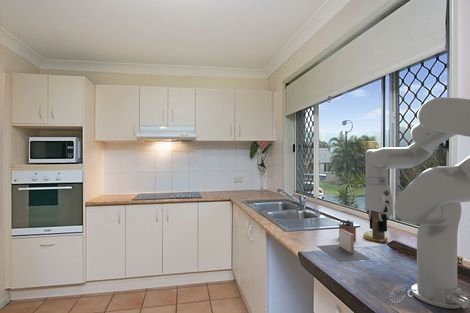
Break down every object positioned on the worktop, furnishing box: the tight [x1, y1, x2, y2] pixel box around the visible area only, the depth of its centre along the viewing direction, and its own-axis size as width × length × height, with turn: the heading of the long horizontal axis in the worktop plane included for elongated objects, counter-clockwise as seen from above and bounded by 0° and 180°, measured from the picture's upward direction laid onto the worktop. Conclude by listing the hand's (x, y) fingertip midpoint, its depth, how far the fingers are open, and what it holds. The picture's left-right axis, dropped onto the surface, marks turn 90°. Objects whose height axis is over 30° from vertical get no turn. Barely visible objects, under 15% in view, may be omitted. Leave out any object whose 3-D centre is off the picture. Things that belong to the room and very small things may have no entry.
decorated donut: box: [362, 230, 389, 244], centre depth 134 cm, size 10×11×4 cm
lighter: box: [338, 219, 357, 242], centre depth 134 cm, size 8×3×10 cm, turn 58°
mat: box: [316, 244, 371, 263], centre depth 116 cm, size 19×14×1 cm
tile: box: [338, 228, 355, 254], centre depth 118 cm, size 9×1×8 cm, turn 10°
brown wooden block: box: [371, 211, 385, 240], centre depth 102 cm, size 4×4×13 cm
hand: (378, 229), depth 102 cm, fingers closed on brown wooden block, 4 cm apart
